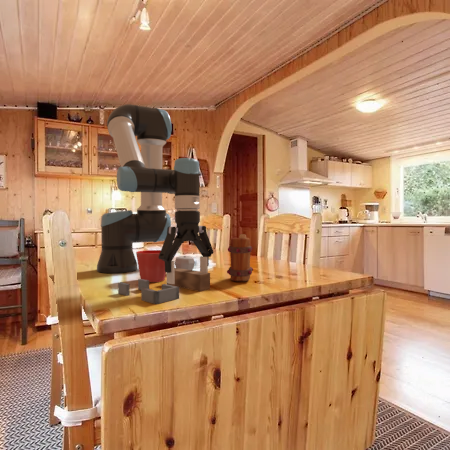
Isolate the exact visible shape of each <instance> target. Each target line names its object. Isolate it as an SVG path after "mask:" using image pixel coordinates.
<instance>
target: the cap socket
mask: <svg viewBox="0 0 450 450" xmlns="http://www.w3.org/2000/svg"><path fill="white" fill-rule="evenodd" d="M140 291H141V293H140V294H141V301H144V302H146V303H150V304H154V305H159V304H162V303H163V304H164V303H166V302H171V301H174V300H178V299H180V287H177V286H172V285H167V283H163V284H161V289H159V290H154V289H152V288H151V289H150V288H149V289H147V288H142V289H141V290H140Z"/></svg>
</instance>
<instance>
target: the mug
mask: <svg viewBox="0 0 450 450" xmlns="http://www.w3.org/2000/svg"><path fill="white" fill-rule="evenodd" d="M252 250H253V246H251V238H250V237H247V235H246V234H243V233H241V234H239V236H238V237H231V238H230V246H229V247H228V248H227V251H228V252H229V253H230V267H229V268H228V269H227V270H226V274H228V275H229V276H230V280H231V281H233V282H239V283H241V282H242V283H243V282H247V281H250V278H251V275H252V274H253V271H254V268H253V267H252V266H251V252H252Z"/></svg>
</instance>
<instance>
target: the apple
mask: <svg viewBox="0 0 450 450" xmlns="http://www.w3.org/2000/svg"><path fill="white" fill-rule="evenodd" d="M174 263H175V268H181V269H187V270H193V269H194V267H195V263H196V262H195V258H194V257H193V256H190V255H179V256H176V258H175V261H174Z"/></svg>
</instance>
